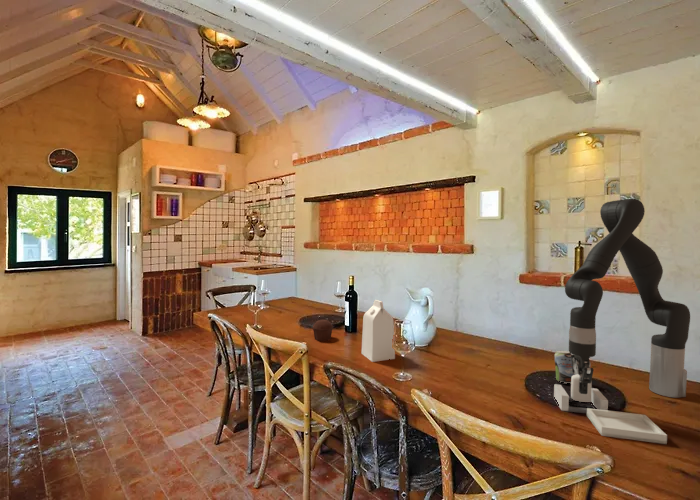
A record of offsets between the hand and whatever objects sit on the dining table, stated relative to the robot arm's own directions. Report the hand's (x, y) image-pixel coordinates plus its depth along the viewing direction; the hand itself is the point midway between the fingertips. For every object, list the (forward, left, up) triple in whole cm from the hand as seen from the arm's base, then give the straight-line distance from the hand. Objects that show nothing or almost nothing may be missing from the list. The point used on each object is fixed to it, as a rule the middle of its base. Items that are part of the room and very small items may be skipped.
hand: (581, 390), depth 121 cm
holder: (0, 0, -5) cm, 5 cm away
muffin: (+108, -49, -6) cm, 119 cm away
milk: (+74, -30, -6) cm, 80 cm away
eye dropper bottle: (0, 0, -3) cm, 3 cm away
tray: (-8, +12, -5) cm, 15 cm away
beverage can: (-1, -21, -6) cm, 22 cm away
